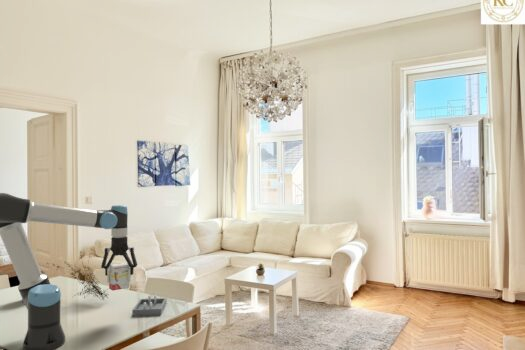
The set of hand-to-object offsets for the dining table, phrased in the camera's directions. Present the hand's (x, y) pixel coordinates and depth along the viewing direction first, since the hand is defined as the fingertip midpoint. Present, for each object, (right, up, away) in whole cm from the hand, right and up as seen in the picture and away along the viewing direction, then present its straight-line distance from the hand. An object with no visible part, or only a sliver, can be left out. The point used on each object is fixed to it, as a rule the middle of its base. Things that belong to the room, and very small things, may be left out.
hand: (119, 281), depth 191 cm
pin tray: (+12, -18, +11) cm, 24 cm away
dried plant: (-32, -18, +27) cm, 46 cm away
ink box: (0, -3, 0) cm, 3 cm away
